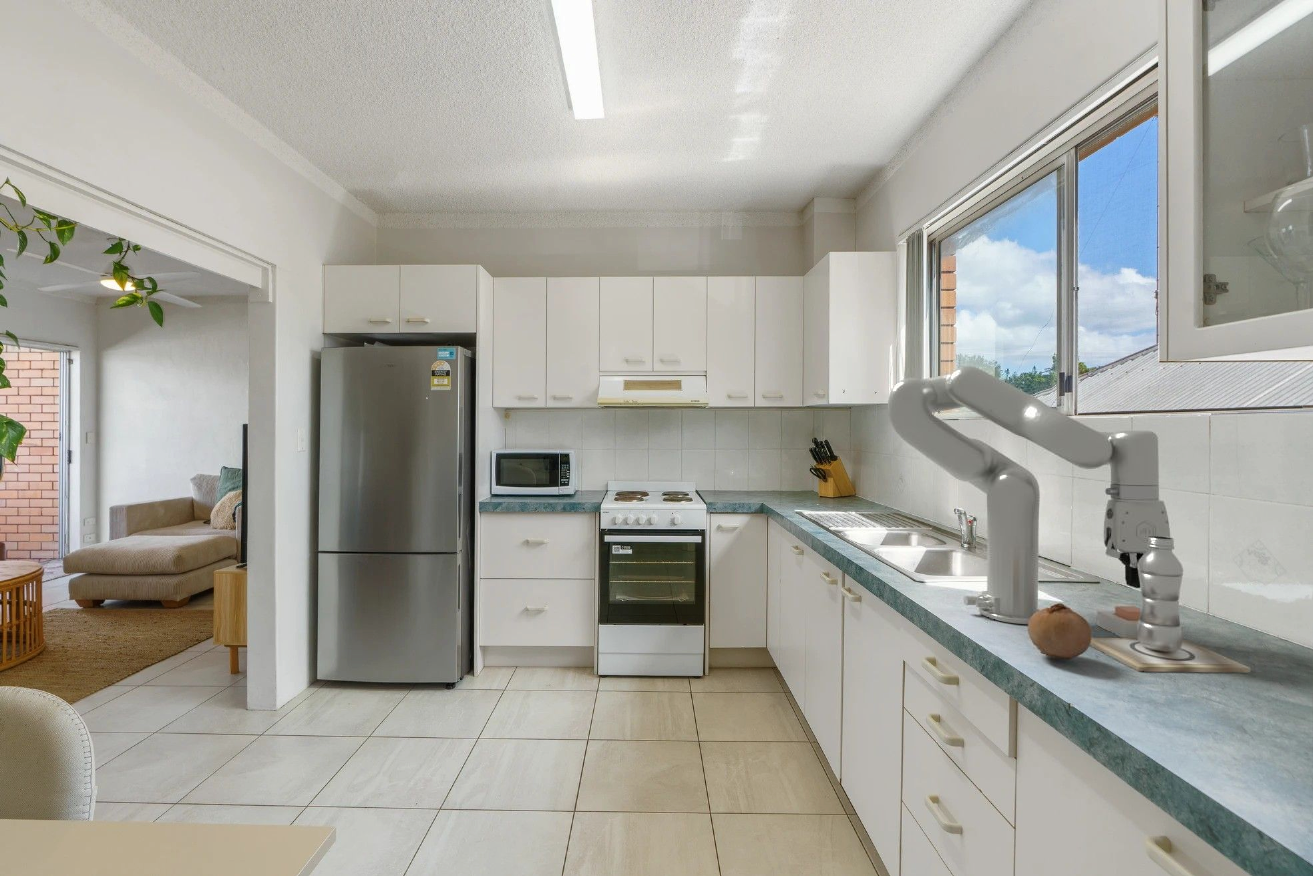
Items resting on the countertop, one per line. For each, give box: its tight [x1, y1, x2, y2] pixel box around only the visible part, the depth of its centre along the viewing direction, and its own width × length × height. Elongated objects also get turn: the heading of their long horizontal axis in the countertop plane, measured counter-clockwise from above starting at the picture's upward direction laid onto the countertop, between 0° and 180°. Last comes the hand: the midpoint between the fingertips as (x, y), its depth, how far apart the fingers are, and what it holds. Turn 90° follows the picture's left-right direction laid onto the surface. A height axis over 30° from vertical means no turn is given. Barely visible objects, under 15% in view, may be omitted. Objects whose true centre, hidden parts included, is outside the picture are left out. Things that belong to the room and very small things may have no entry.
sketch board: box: [1089, 637, 1251, 674], centre depth 111 cm, size 18×14×1 cm
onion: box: [1027, 602, 1093, 661], centre depth 109 cm, size 10×9×10 cm
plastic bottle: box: [1136, 536, 1184, 652], centre depth 111 cm, size 6×7×20 cm
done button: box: [1114, 605, 1140, 621], centre depth 124 cm, size 4×4×3 cm
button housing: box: [1096, 610, 1138, 638], centre depth 124 cm, size 8×8×3 cm
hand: (1136, 586), depth 123 cm, fingers closed
